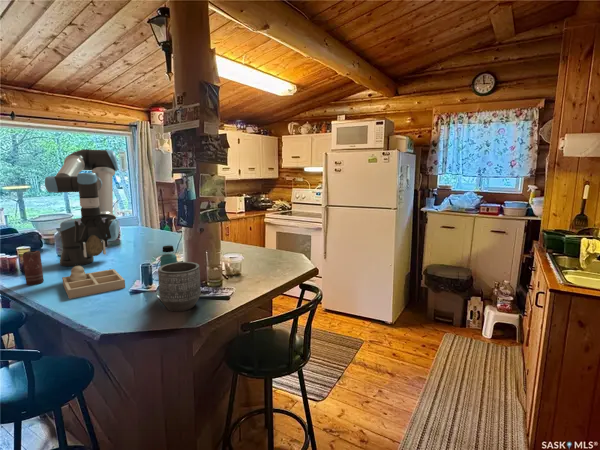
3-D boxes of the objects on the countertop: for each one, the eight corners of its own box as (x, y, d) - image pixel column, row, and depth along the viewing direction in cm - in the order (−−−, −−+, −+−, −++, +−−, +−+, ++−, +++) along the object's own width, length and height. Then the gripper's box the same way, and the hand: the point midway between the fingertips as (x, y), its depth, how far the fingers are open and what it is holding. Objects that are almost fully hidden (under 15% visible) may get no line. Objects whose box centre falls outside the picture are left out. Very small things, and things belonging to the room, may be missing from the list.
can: (47, 281, 154) (44, 250, 152) (32, 286, 148) (28, 254, 146) (38, 280, 156) (34, 249, 154) (23, 284, 150) (18, 253, 148)
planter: (191, 296, 138) (189, 259, 135) (207, 306, 127) (206, 267, 125) (154, 305, 128) (152, 266, 126) (169, 317, 118) (166, 275, 115)
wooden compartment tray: (63, 285, 149) (62, 277, 149) (114, 276, 162) (113, 268, 161) (69, 298, 134) (68, 290, 134) (125, 287, 147) (124, 279, 146)
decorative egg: (85, 258, 159) (83, 237, 157) (86, 254, 165) (84, 234, 163) (103, 256, 162) (101, 235, 160) (104, 253, 168) (102, 233, 166)
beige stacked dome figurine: (69, 283, 149) (67, 265, 148) (85, 280, 153) (84, 263, 151) (71, 287, 144) (69, 268, 143) (88, 284, 148) (86, 266, 147)
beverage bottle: (164, 291, 142) (161, 244, 139) (181, 291, 142) (178, 243, 139) (159, 297, 136) (156, 247, 132) (176, 297, 136) (174, 247, 133)
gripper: (64, 209, 150) (70, 260, 154) (116, 206, 162) (120, 253, 167) (62, 207, 155) (68, 256, 160) (112, 204, 168) (116, 250, 172)
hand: (95, 255), depth 163 cm, fingers closed on decorative egg, 7 cm apart
